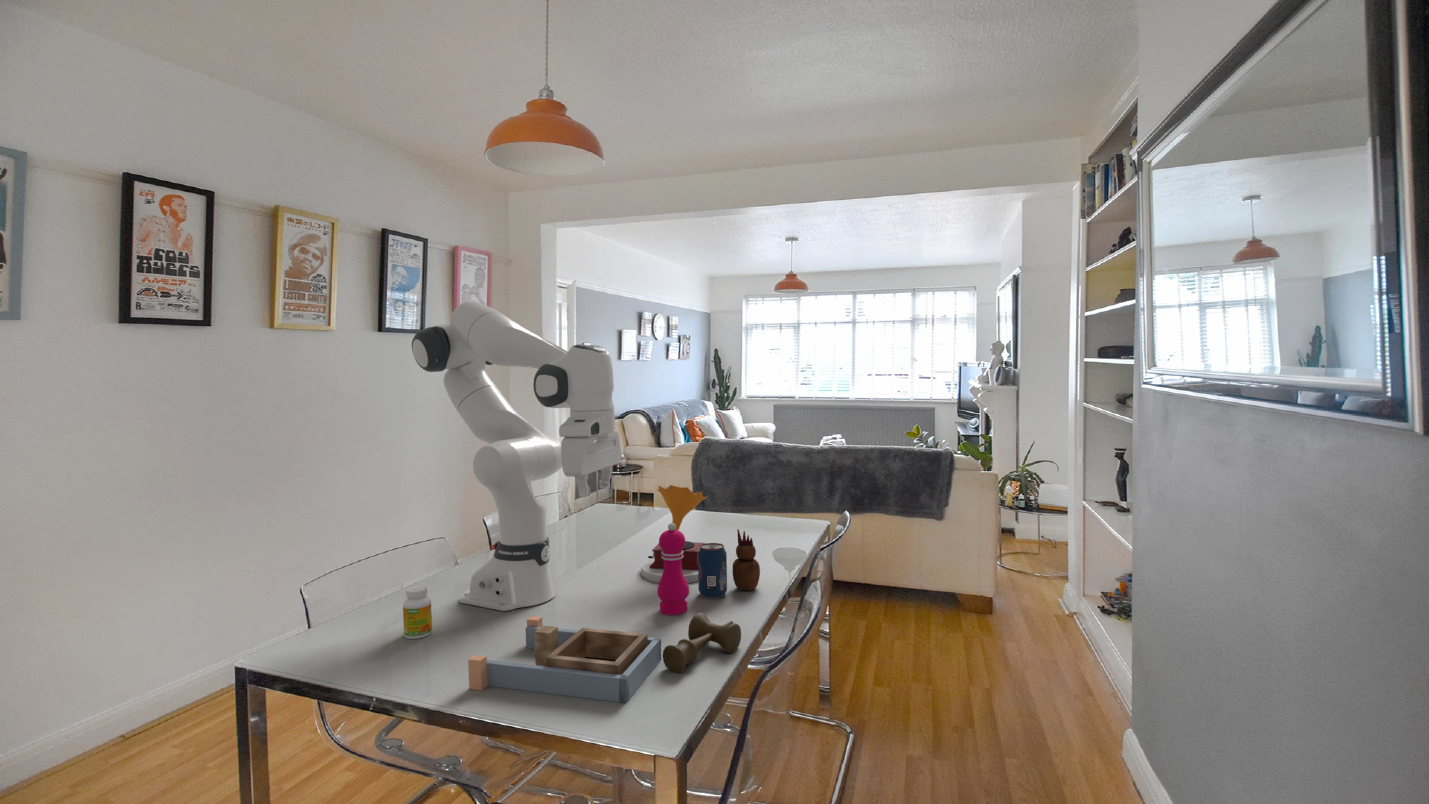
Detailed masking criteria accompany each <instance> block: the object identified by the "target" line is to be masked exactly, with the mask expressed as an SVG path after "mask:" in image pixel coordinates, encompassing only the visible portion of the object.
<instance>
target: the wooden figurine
mask: <svg viewBox="0 0 1429 804" xmlns="http://www.w3.org/2000/svg"><path fill="white" fill-rule="evenodd" d="M735 555H736V559H734V560H733V563H732V579H733V582H734V585H735V587H736V588H737V589H738V590H740V591H744V592H745V591H746V592H747V591H754V590H756V588H757V587H758V585H759V581H760V576H761V567H760V564H759V561H758V560H757V559H755V557H756V555H757V551H756V547H755V545H754V542H753V538H752V537H751V538H750V535H749V534H747V536H746V531H745V530H743V532H742V536H741V532H740V529H739V528H737V546H736V548H735Z"/></svg>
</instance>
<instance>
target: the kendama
mask: <svg viewBox="0 0 1429 804" xmlns="http://www.w3.org/2000/svg"><path fill="white" fill-rule="evenodd" d="M687 634H688V639H686V638H682V639H680V640H678V643H677V644H676V645H672V644H669V645H667V646H665V647H664V649H663V650H662V659H663V660H662V662H663V664H664V666H665V668H666V669H667V670H668V671H670V672H671V673H676V674H681V673H683V672H684V670H686V666H687V664H688V663H693V662H696V660H697V658H698V654H699V652H700V651H701V650H702V649H703V648H704V647H705V646H706V645H707V644H708V643H709V642H713V643H716V644H718V645H719V646H720V647H721V649H722V650H724V652H725V653H727V654H732V653H734V652H735V651H736V650H738V648H739V646H740V643H741V639H742V630H741V626H740V625H739V623H736V622H735V623H734V621H733V620H730V621H727V622H726V623H725V624H721V625H720V624H716V623H713V622H711V621H710V618H709V617H708V616H707V614H705V613H704V612H701V611H700V612H698V613H695V615H693V617H692V618H691V619H690V622H689V624H688V632H687Z"/></svg>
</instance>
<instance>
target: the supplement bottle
mask: <svg viewBox="0 0 1429 804" xmlns="http://www.w3.org/2000/svg"><path fill="white" fill-rule="evenodd" d="M405 595H406V599H405V600H404V601H403V603H402V612H403V614H402V616H403V618H402V619H403V636H404V637H405V638H406V639H408V640H418V639H421V638H426V637H427V636H430V635H431V634H432V633H433V617H432V599H431V598H430V597H429V596H428V587H427V586H425V585H415V586H411V587H409V588H407V589H406V591H405Z"/></svg>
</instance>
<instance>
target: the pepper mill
mask: <svg viewBox="0 0 1429 804" xmlns="http://www.w3.org/2000/svg"><path fill="white" fill-rule="evenodd" d="M667 529H668V530H664V531H663V532H662V533H661V534H660V536H659V539H658V544H659V546H660V548H661V549H662V550H663V551H662V552H661V554H662V556H661V558H662V559H663V561H664V570H663V574H662V577H661V579H660V582H658V585H657V592H656V593H657V594H656V595H657V597H658V599H660V602H659V611H660V613H661V614H662V615H663V614H664V615H667V616H678V615H682V614H684V613H686V612H687V611H688V601H687V600H686V599H687V598H688V596H689V594H690V589H689V584H688V583H687V581H686V578H685V576H684V574H683V571H682V565H681V561H682V558H683V551H682V549H683V547H684V546H685V541H686V536H685V534H683V532H682V531H681V530H675V529H676V526H675V524H674V523H672V522H671V523H669V524H668V526H667Z"/></svg>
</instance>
